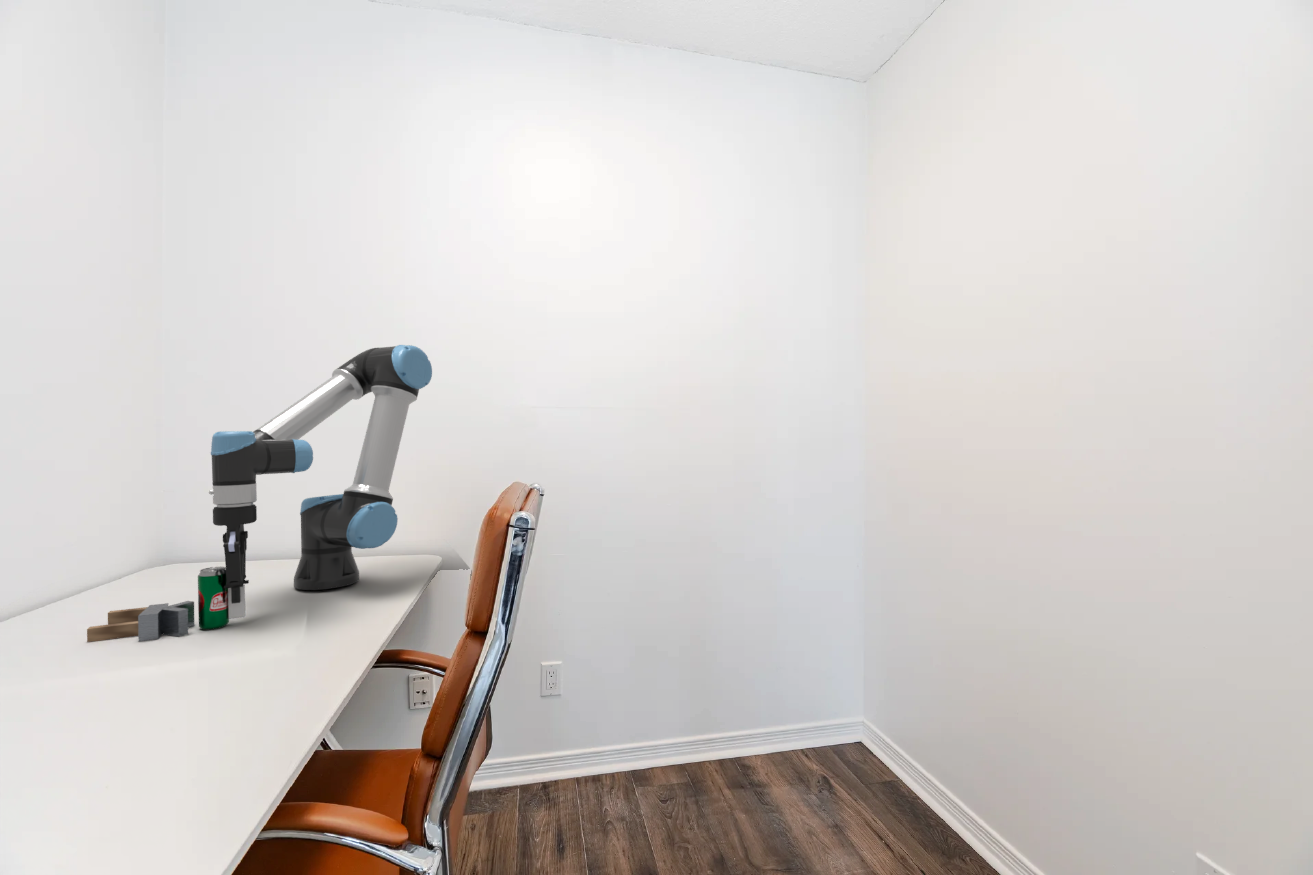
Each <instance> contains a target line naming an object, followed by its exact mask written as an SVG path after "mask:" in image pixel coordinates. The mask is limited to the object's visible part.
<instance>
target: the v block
mask: <svg viewBox="0 0 1313 875" xmlns="http://www.w3.org/2000/svg"><path fill="white" fill-rule="evenodd" d="M146 607H147V608H146V609H145V610H144V611H143V612H142V613H141V614H140V615H138V636H137V637H138V639H137V640H138V642H147V641H153V640H159V639H160V638H161V637H162V636H163V635H164V636H171V637H178V638H179V637H182V636H185V635H189V628H191V627H194V626H195V601H193V600H192V601H191V600H185V601H183V602H178V603H174V604H171V605H169V603H168V602H166V603H157V604H150V605H148V606H146Z"/></svg>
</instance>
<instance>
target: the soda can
mask: <svg viewBox="0 0 1313 875" xmlns="http://www.w3.org/2000/svg"><path fill="white" fill-rule="evenodd" d="M226 583H227V580H226V566H211V567H205V568H202V569H200V570H199V574H198V575H197V601H198V602H197V603H198V604H197V605H198V606H197V608H198V610H197V611H198V628H199V629H201V630H203V631H204V630H205V631H209V630H210V631H211V630H216V629H221V628H224V627H226V626H227V625H228V624H229V623H230V619H229V606H228V588H225V589H224V586H225V585H226Z"/></svg>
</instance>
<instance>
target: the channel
mask: <svg viewBox="0 0 1313 875" xmlns="http://www.w3.org/2000/svg"><path fill="white" fill-rule="evenodd" d="M147 607H148V606H145V607H143V606H142V607H136V608H126V609H125V608H124V609H117V610H115V609H114V610H110V611H108V612H107V624H102V625H95V626H89V627H88V628H87V629H86V642H87V643H90V642H98V641H106V640H107V641H108V640H113V639H115V640H116V639H123V638H129V637H138V615H140V614H141V613H142V612H143V611H144V610H145V609H146V608H147Z"/></svg>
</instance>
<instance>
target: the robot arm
mask: <svg viewBox="0 0 1313 875" xmlns="http://www.w3.org/2000/svg"><path fill="white" fill-rule="evenodd" d="M432 376H433V368H432V363H431V361H430V360H429V356H428V355H427V354H426V353H425V351H423V349H421V348H419V347H418V346H415V345H412V344H411V345H409V344H408V345H406V344H398V345H395V346H386V347H385V346H384V347H374V348H373V347H372V348H369V349H367V350H365V351H362V352H359V353H358V354H357V355H355V356H354V357H352V358H351V359H349V360H347V361H346V362H345V363H343V364H341V365H340V366H338V367H337V368H336V369H334V370H333V371H332V373H331V377H330V378H329V379H327V380H326V381H324V382H323V383H321V384H320V385H319V386H317V387H316V388H314V389H312V391H310V392H308V393H307V394H306V395H304V396H303V397H301V398H300V399H299V400H297V401H296V402H294V403H293V404H292V405H290V406H288V407H287V408H286V409H284V410H283V411H281V412H280V413H279V414H277V415H275V416H274V417H272V418H271V419H270V420H268V421H267V422H265V423H264V424H263V425H260V426H259V427H258V428H257V429H255V430H254V431H250V430H247V431H246V430H243V431H242V430H237V431H236V430H235V431H234V430H231V431H227V430H225V431H224V430H223V431H222V430H221V431H216V432H215V433H213V435H212V436H211V446H210V447H211V449H210V450H211V451H210V455H211V478H212V489H210V490H209V492H208V494H209V495H212V504H213V505H215V507H214V506H213V508H212V523H213V525H215V526H217V527H218V526H220V527H222V526H225V527H226V531H225V533H223V534H222V543H223V546H222V547H223V550H224V562H225V567H226V580H227V583H226V585H225V586H224V589H225V588H228V606H229V620H233V619H242V618H245V617H246V584H247V585H248V584H249V583H250V580H249V579H246V578H247V575H246V571H247V570H246V563H247V562H246V560H247V558H246V557H247V556H246V554H247V549H248V547H247V546H248V544H247V542H248V541H247V539H248V537H249V532H248V530H245V527H244V526H245V525H249V524H253V523H255V522H256V521H257V518H258V515H257V514H258V513H257V509H258V508H257V505H256V504H254V503H256V502H257V499H258V498H257V497H258V496H257V475H259V476H260V475H269V474H270V475H271V474H272V475H275V474H289V473H291V474H295V473H300V472H301V473H303V472H306V471H307V470H308V469H310V468H311V466H312V464H313V461H314V451H313V448H312V445H311V444H310V442H308V441H307V440H305V439H301V438H303V437H304V436H305V435H306V434H308V433H309V432H310V431H312V430H313V429H314V428H316V427H317V426H319V425H320V424H321V423H322V422H324V421H325V420H327V419H328V418H329V417H330V416H332V415H333V414H335V413H336V412H337V411H339V410H340V409H342V408H343V407H344V406H345V405H347V404H348V403H349V402H351V401H352V400H357V401H358V400H360V399H361V398H362V397H364V396H365V395H367V394H371V393H372V394H373V395H374V400H373V403H372V408H371V412H370V415H369V420H368V424H367V428H366V431H365V435H364V439H363V442H362V443H363V444H362V447H361V451H360V455H359V459H358V461H357V462H358V463H357V465H356V466H357V467H356V469H355V475H354V479H353V480H352V485H350V486H348V488H345V489H344V491H343V493H341V494H330V495H323V496H314V497H313V496H312V497H307V498H305V499H303V500H302V502H301V504H300V512H299V516H300V546H301V547H300V548H301V551H300V552H301V553H300V554H301V555H300V558H299V562H298V565H297V568H296V570H295V573H294V576H293V588H295V589H297V590H304V591H305V590H306V591H310V590H311V591H312V590H313V591H317V590H329V589H334V588H341V587H346V586H349V585H352V584H355V583H357V582H358V581H359V580H360V571H359V568H358V565H357V562H356V560H355V557H354V555H353V550H352V548H355V549H360V550H361V549H363V550H364V549H375V548H379V547H382V546H383V545H384V544H386V543H387V542H388V541H389V540H390V539H391V538H392V537H393V535H394V534H395V531H397V530H396V529H397V525H398V519H399V518H398V514H397V513H396V512H397V511H396V509H395V508H394V507H393V506H392V504H393V501H394V497H393V496H392V495H391V493H390V492H389V491H390V487H391V483H392V479H393V475H394V474H393V473H394V470H395V465H396V462H397V457H398V452H399V449H400V444H401V440H402V437H403V433H404V428H405V425H406V424H405V423H406V420H407V416H408V411H409V407H410V405H411V404H413V403H414V402H416V401H417V400H418V395H419V392H420V390H422V389H423V388H425V387H426V386H428V385H429V383H430V382H431V380H432Z"/></svg>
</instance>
